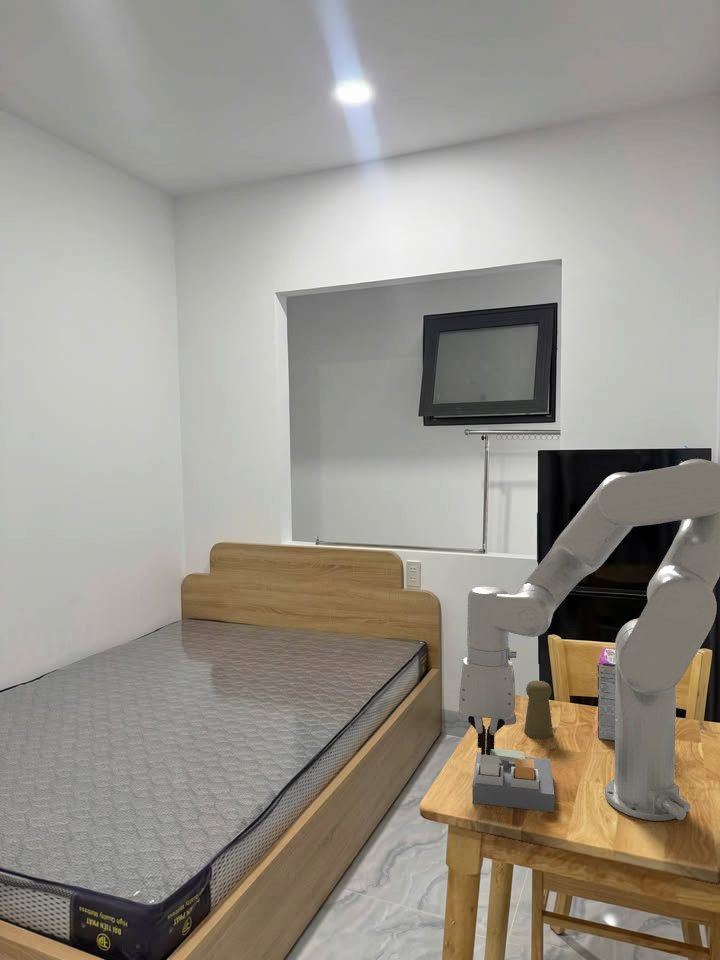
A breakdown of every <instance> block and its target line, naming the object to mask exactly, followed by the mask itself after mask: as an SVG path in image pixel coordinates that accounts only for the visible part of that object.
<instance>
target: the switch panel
mask: <svg viewBox="0 0 720 960" xmlns="http://www.w3.org/2000/svg"><path fill="white" fill-rule="evenodd" d="M484 755H485V754H484ZM524 757H525V759H533V760H534V779H524V778H515V762H512V761H504V760H499V776H494V775H484V774H480V759H481V751H480V752H476V756H475V764H474V772H473V779H472V787H471V788H472V795H471V796H472V804H480V805H488V806H497V807H504V808H505V807H506V808H516V809H524V810H534V811H543V812H550V813H551V812H553V813H555V788H554V777H553V770H552V769H553V768H552V761H551V758H542V757H541V758H540V757H532V756H524Z"/></svg>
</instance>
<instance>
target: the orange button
mask: <svg viewBox="0 0 720 960" xmlns="http://www.w3.org/2000/svg"><path fill="white" fill-rule="evenodd" d="M515 778H524V779H534V760H533V759H522V758H515Z"/></svg>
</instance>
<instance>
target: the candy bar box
mask: <svg viewBox="0 0 720 960" xmlns="http://www.w3.org/2000/svg"><path fill="white" fill-rule="evenodd" d="M615 706H616V662H615V648H607V647H603V648H602V649H601V652H600V655H599V659H598V662H597V738H598V739H599V740H603V741H610V742H611V741H612V742H615Z"/></svg>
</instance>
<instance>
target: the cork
mask: <svg viewBox="0 0 720 960" xmlns="http://www.w3.org/2000/svg"><path fill="white" fill-rule="evenodd" d="M525 692H526V695H527V696H528V702H527V709H526V717H525V720H524V721H525V722H524V730H523V732H524V735H526V736H527V737H530V738H531V739H538V740H547V739H550V738H552V737H553V736H554V730H553V722H552V715H551V706H550V700H549V699H550V697H551V696H552V688H551V686H550V684H549V683H548V682H546V681H543V680H531V681H529V682H528V683H527V685H526V688H525Z"/></svg>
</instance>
